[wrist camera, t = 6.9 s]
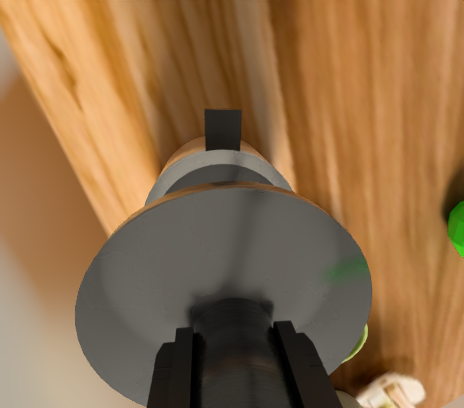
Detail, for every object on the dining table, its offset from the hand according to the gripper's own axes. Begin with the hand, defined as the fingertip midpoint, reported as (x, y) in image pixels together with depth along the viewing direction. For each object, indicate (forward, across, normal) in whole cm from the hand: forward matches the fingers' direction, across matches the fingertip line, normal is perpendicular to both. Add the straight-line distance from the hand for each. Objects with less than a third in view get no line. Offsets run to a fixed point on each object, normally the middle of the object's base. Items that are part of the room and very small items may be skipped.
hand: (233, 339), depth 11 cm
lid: (+2, 0, 0) cm, 2 cm away
